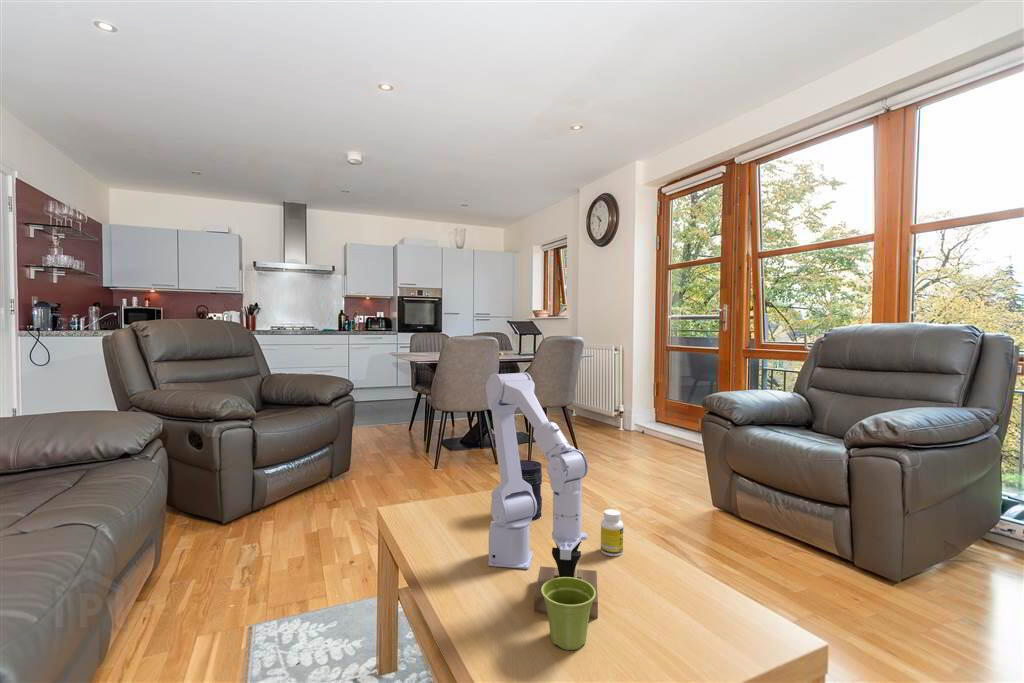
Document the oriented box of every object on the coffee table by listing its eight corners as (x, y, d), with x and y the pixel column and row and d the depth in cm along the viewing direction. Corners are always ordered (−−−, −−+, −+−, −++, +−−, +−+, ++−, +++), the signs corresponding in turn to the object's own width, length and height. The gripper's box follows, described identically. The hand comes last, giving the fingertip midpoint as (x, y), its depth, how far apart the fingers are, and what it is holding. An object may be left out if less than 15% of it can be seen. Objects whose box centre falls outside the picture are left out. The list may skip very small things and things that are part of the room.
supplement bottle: (623, 558, 113) (623, 517, 112) (600, 555, 114) (600, 515, 114) (622, 547, 118) (623, 508, 118) (600, 546, 119) (600, 507, 119)
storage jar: (505, 520, 135) (505, 468, 135) (510, 508, 145) (510, 459, 145) (540, 522, 134) (540, 470, 134) (543, 509, 144) (543, 460, 143)
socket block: (534, 612, 91) (534, 596, 91) (540, 580, 103) (540, 566, 102) (597, 618, 89) (597, 602, 89) (596, 584, 101) (596, 570, 101)
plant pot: (537, 624, 87) (537, 577, 87) (588, 621, 88) (588, 575, 88) (545, 659, 78) (545, 606, 78) (601, 655, 78) (602, 604, 78)
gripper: (587, 527, 88) (587, 600, 88) (587, 500, 102) (587, 562, 102) (549, 525, 89) (549, 597, 89) (554, 498, 103) (554, 560, 103)
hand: (567, 578), depth 96 cm, fingers open, 4 cm apart
